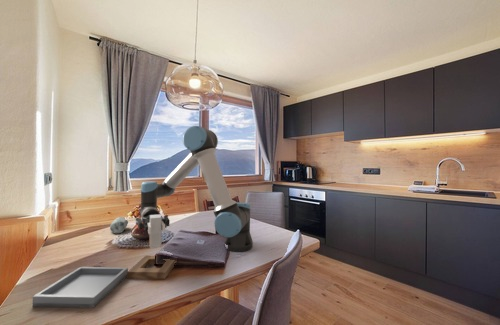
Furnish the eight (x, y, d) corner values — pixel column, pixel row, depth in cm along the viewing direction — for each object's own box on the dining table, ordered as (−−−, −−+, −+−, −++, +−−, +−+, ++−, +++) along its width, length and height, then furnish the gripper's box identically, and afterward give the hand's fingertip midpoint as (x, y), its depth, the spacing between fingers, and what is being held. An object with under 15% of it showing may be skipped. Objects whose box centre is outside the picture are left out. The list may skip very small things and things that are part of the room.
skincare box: (148, 243, 88) (149, 214, 88) (160, 242, 90) (160, 214, 90) (149, 249, 83) (150, 218, 83) (161, 247, 85) (162, 217, 85)
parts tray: (127, 275, 81) (127, 267, 81) (93, 307, 63) (93, 297, 63) (80, 274, 81) (80, 266, 81) (32, 306, 63) (32, 296, 63)
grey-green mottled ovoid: (127, 228, 127) (120, 213, 128) (110, 237, 124) (103, 222, 125) (133, 227, 140) (127, 214, 141) (118, 235, 136) (112, 221, 137)
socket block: (177, 261, 94) (177, 256, 94) (164, 279, 80) (165, 272, 80) (145, 261, 93) (145, 255, 93) (127, 278, 79) (127, 271, 79)
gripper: (169, 221, 106) (180, 235, 86) (129, 226, 98) (131, 243, 77) (169, 206, 106) (180, 217, 86) (130, 210, 98) (131, 222, 77)
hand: (157, 229), depth 82 cm, fingers closed on skincare box, 4 cm apart
